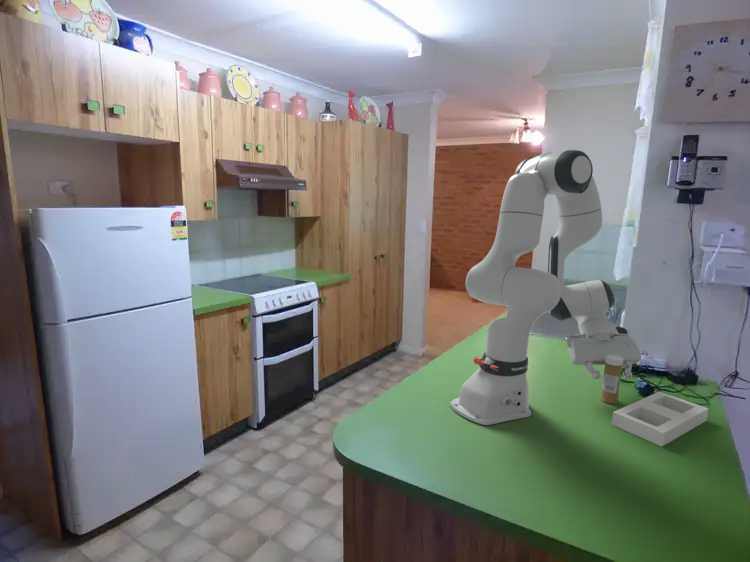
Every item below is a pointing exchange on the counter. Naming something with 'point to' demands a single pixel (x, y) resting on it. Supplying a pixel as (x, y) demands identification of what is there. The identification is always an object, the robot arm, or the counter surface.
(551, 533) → the counter surface
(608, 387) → the sprinkles bottle
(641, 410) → the bottle stand
